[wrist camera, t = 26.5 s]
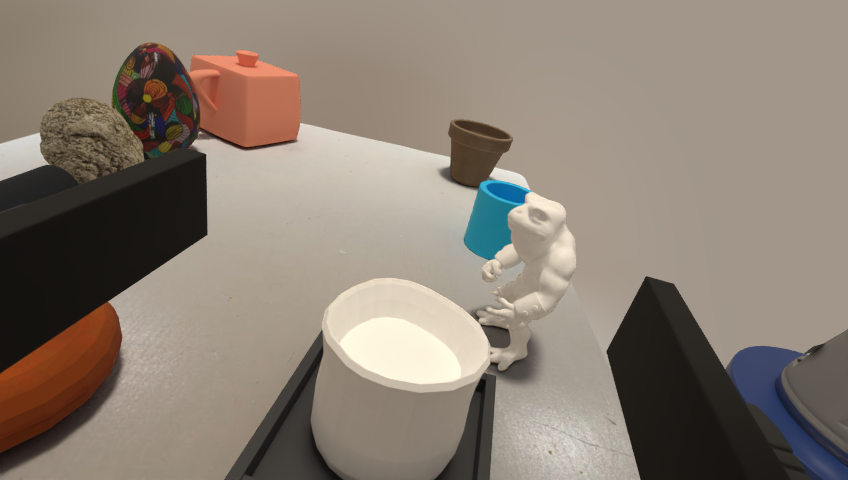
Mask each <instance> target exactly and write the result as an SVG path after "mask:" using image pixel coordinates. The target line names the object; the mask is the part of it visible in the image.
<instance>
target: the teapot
mask: <svg viewBox="0 0 848 480" xmlns="http://www.w3.org/2000/svg"><path fill="white" fill-rule="evenodd" d="M236 54H237V56H236V57H235V56H211V55H193V56H192V60H191V68H190V73H188V74H189V76H190V78H191V80H192V82H193V84H194V87H195V90H196V93H197V96H198V100H199V106H200V127H201V128H203V129H205V130H207V131H208V132H210V133H213V134H215V135H217V136H219V137H221V138H224V139H226V140H229V141H231V142H233V143H236V144H238V145H241V146H244V147H251V146H258V145H264V144H271V143H277V142H282V141H288V140H293V139H296V138H297V135H298V131H299V127H300V81H299V76H298V75H296V74H294V73H292V72H289V71H286V70H283V69H280V68H278V67H275V66H272V65H270V64H267V63H264V62H261V61H258V60H257V59H258V56H259V55H258V54H256V53H254V52H250V51H245V50H238V51H236Z"/></svg>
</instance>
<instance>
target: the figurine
mask: <svg viewBox="0 0 848 480" xmlns="http://www.w3.org/2000/svg"><path fill="white" fill-rule="evenodd" d="M565 219H566V211H565V209H564V207H562V205H561V204H559V203H557V202H553V201H550V200H548V199H545V198H543V197H541V196H539V195H537V194H536V193H533V192H530V193H528V194H526V196H525V203H524V204H523V205H522V206H518V207H516V208H514V209H512V210H511V211H510V213H509V214H508V227H509V229H510V230H512V232H511V241H512V244H509V245H506V246H504V248H503V249H502V250H501V251H498V252H497V254H496V255H495V258H496V259H493V260H490V261H488V262H487V263H486V264H485V265H484V266H483V267H482V279H483V280H484V281H486V282H494V281H497V278H496V276H495V275H493V273H496V274H497V275H501V274H502V271H501V269H502V268H504V269H508V268H511V267H513V266H515V265H517V264H519V263H520V262H521V261H522V260H523V262H524V263H525V264H526V266H525V268H524V269H523V271H522V273H521V274H519V275H518V277H517V278H516V280H515V281H513V282H510V283H508V284H507V285H505V286H502V287H496V289H497V290H498V291H492V292H491V293H492V294H494V295H496V296H497V298H496V299H495V301H497V302H499V303H500V304H501V305H502V310H495V309H494V308H493V307H491V306H487V307H486V308H485V310H486V311H482V310H478V311H477V316H478V317H480V319H479V323H480V324H482V325H494V326H499V327H502V328H505V329H508V330H509V332H510V337H511V343H510V345H509V346H508V347H507V348H495V347H491V346H490V353H492V354H491V355H490V362H495V363H499V365H498V369H499V370H500V371H503V370H506V369H507V367H508V366H509V365H510V364H511V363H513V361H515V360H520V359H522V358H525V357H526V356H527V346H526V345H527V342H528V340H529V339H530V336H531V332H530V329H529V327H528V326H527V325H528V323H530V322H531V321H532V320H538V319H540V318H542V317H544V316H546V315H548V314H550V313H551V312H552V311H553V309H554V308H555V307H556V305H557V303H558V302H559V301H560V299H561V298H562V297H563V295H564V293H565V292H566V290H567V288H568V284H569V280H570V278H571V276H572V274H573V273H574V271H575V268H576V242H575V239H574V237H573V236H572V234H571V233H570V232H569V230H568V229H567V226H566V223H565Z"/></svg>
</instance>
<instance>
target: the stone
mask: <svg viewBox="0 0 848 480" xmlns="http://www.w3.org/2000/svg"><path fill="white" fill-rule="evenodd" d="M40 136H41V140H42V142H41V143H40V149H41V153H42V155H43V156H44V159H45V160H46V161H47V162H48V163H49V164H50V165H53V166H57V167H60V168H62V169H64V170H66V171H67V172H68V173H70V174H71V175H72V176H73V177H74V178H75V179H76V180H77V182H78V183H79V184H83V183H86V182H88V181H91V180H94V179H97V178H100V177H102V176H105V175H108V174H111V173H113V172H116V171H119V170H122V169H124V168H127V167H130V166H133V165H135V164H138V163H141V162H144V155H143V145H142V143H141V141H140V140H139V138H138V137H137V136H136V135H134V133H133V131H132V130H131V129H130V127H129V125H128V123H127V122H126V121H125V119H124V118H123V116H122V115H121V114H120V113H119V112H117V111H116V110H114V109H113V108H112V107H111V106H110V105H108V104H106V103H103V102H100V101H96V100H93V99H85V98H72V99H67V100H63V101H61V102H59V103H57V104H54V105H53V106H52V107H50V108H49V109H48V110H47V111H46V112H45V114H44V117H43V119H42V123H41V127H40Z"/></svg>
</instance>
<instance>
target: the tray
mask: <svg viewBox="0 0 848 480" xmlns="http://www.w3.org/2000/svg"><path fill="white" fill-rule="evenodd" d="M323 353H324V351H323V331H321V332H320V334H319V335H318V337H317V338H316V340H315V341H314V343H313V344H312V346H311V348H310V349H309V351H308V352H307V354H306V355H305V357H304V358H303V360H302V361H301V363H300V364H299V366H298V367H297V369H296V371H295V372H294V374H293V375H292V377H291V378H290V380H289V381H288V383H287V384H286V386H285V387H284V389H283V391H282V392H281V394H280V395H279V397H278V398H277V400H276V401H275V403H274V404H273V406H272V407H271V409H270V410H269V412H268V414H267V415H266V417H265V418H264V420H263V421H262V423H261V424H260V426H259V427H258V429H257V430H256V432H255V433H254V435H253V437H252V438H251V440H250V441H249V443H248V444H247V446H246V447H245V449H244V450H243V452H242V453H241V455H240V456H239V458H238V460H237V461H236V463H235V464H234V466H233V467H232V469H231V470H230V472H229V473H228V475H227V476H226V478H225V479H224V480H343V479H342V478H341V477H339V476H338V475H337V474H336V473H335V472H334V471H332V470H331V469H330V468H329V466H328V465H327V463H326V462H325V460H324V458H323V457H322V455H321V454H320V452H319V450H318V449H317V447H316V443H315V439H314V435H313V431H312V426H311V414H312V407H313V400H314V393H315V386H316V379H317V375H318V372H319V368H320V364H321V360H322V357H323ZM495 387H496V376H494V375H491V374H486V373H483V375H482V377H481V379H480V381H479V382H478V384H477V386H476V388H475V391H474V393H473V396H472V399H471V402H470V406H469V410H468V414H467V418H466V423H465V428H464V431H463V434H462V437H461V439H460V442H459V445H458V447H457V450H456V453H455V455H454V456H453V457H452V459H451V460H450V461H449V463H448V464H447V465H446V467H445V468H444V469H443V471H442V472H441V473H440V474H439V475H438V476H437V477H436V479H434V480H489V479H490V464H491V449H492V433H493V418H494V402H495Z"/></svg>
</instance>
